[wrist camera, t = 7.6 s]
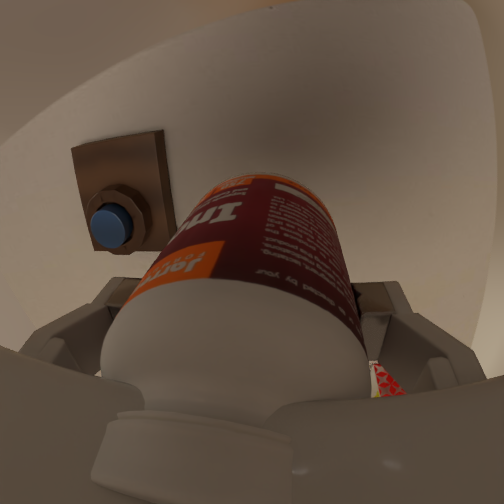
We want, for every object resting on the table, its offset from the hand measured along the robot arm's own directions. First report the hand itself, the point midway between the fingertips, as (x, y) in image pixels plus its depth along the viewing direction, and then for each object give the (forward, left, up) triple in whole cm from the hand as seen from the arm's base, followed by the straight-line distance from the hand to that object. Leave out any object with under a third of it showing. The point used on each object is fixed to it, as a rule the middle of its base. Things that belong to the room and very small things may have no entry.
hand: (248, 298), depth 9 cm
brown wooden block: (+2, -15, -20) cm, 25 cm away
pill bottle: (0, 0, -4) cm, 4 cm away
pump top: (+4, -15, -17) cm, 23 cm away
